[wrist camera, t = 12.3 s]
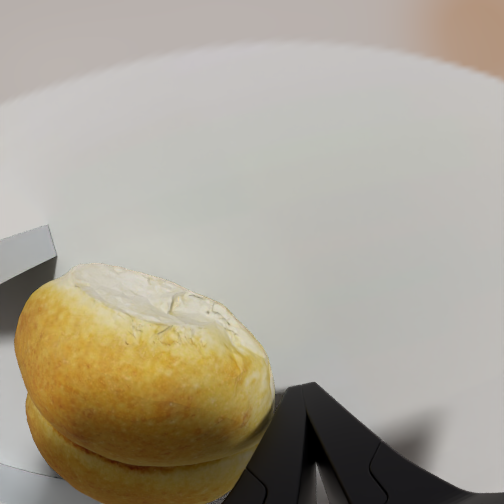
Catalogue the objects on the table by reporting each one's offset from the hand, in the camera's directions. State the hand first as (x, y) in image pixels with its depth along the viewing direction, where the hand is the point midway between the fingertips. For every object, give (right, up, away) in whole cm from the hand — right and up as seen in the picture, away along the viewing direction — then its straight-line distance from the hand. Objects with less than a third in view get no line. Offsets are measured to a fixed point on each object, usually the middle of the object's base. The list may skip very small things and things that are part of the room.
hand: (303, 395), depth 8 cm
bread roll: (-5, 0, +2) cm, 5 cm away
